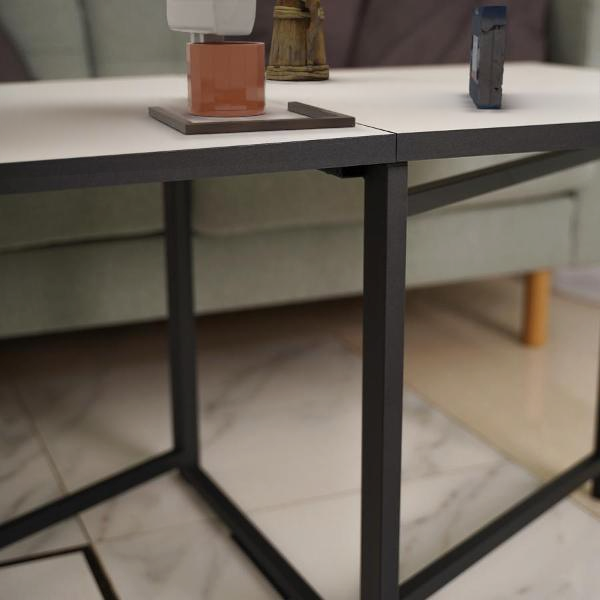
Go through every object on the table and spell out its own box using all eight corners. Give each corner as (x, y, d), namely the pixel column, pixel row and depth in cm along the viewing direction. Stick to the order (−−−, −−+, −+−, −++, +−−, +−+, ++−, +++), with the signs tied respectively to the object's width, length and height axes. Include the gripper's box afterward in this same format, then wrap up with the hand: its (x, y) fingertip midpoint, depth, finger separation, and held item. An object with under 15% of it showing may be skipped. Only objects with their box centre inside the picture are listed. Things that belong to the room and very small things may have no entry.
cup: (200, 118, 84) (198, 45, 82) (181, 109, 91) (178, 42, 89) (275, 115, 87) (275, 44, 85) (251, 107, 93) (250, 41, 91)
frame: (185, 134, 73) (185, 124, 73) (148, 115, 86) (148, 106, 86) (355, 126, 78) (355, 117, 78) (296, 109, 91) (296, 101, 91)
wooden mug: (291, 84, 121) (291, -62, 115) (257, 77, 133) (255, -55, 127) (352, 82, 124) (355, -60, 118) (313, 75, 136) (314, -54, 130)
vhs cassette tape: (467, 92, 110) (472, 5, 107) (492, 93, 109) (498, 5, 106) (471, 108, 92) (477, 5, 89) (501, 109, 92) (508, 5, 89)
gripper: (149, -60, 97) (155, 73, 101) (199, -74, 79) (204, 88, 83) (206, -58, 99) (210, 72, 104) (268, -72, 81) (269, 86, 85)
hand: (208, 79), depth 93 cm, fingers closed
